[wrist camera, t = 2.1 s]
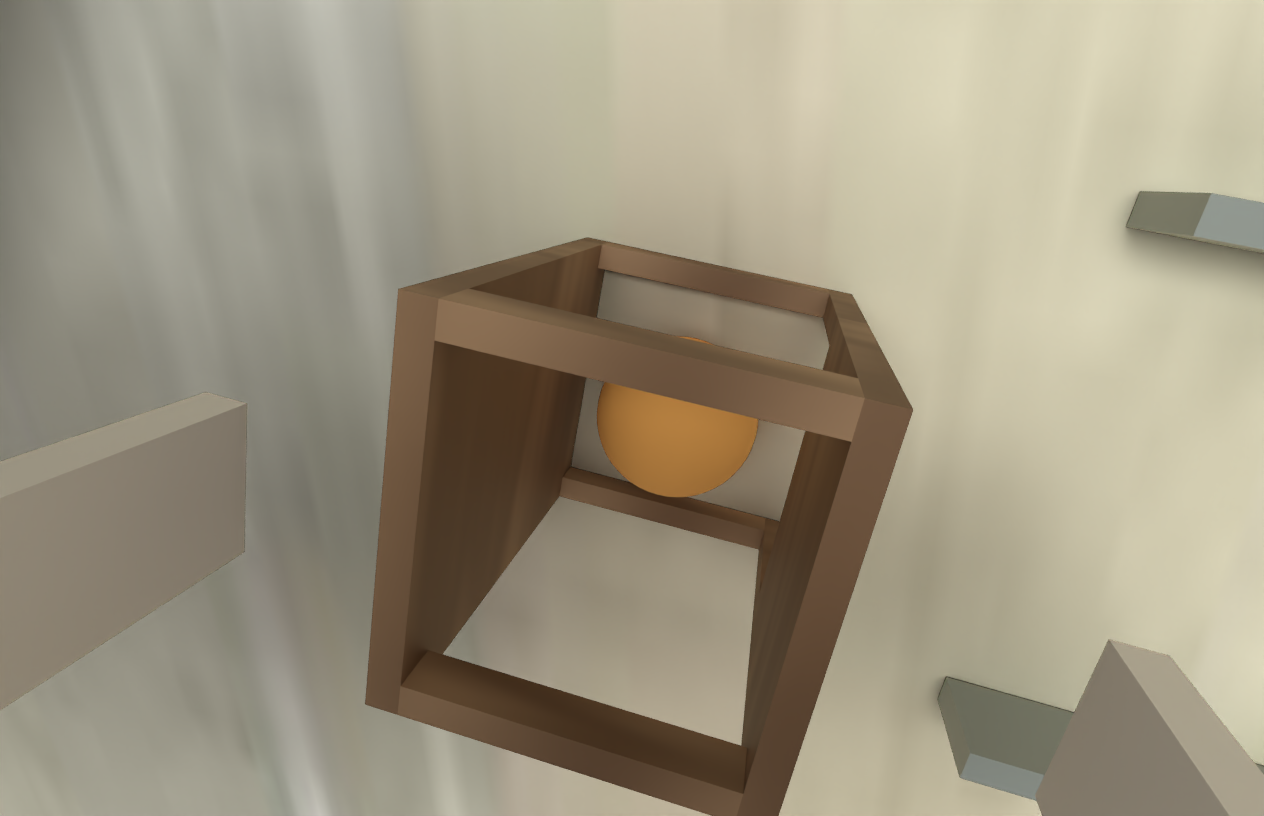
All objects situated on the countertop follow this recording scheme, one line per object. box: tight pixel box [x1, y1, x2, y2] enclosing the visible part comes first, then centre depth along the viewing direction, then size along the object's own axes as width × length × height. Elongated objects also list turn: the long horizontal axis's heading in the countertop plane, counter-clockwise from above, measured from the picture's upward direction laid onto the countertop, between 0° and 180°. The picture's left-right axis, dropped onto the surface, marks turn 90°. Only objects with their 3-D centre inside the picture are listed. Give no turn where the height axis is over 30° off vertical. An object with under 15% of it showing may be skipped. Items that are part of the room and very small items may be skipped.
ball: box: [597, 336, 758, 497], centre depth 18 cm, size 4×4×4 cm
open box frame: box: [365, 237, 913, 816], centre depth 15 cm, size 7×7×10 cm
